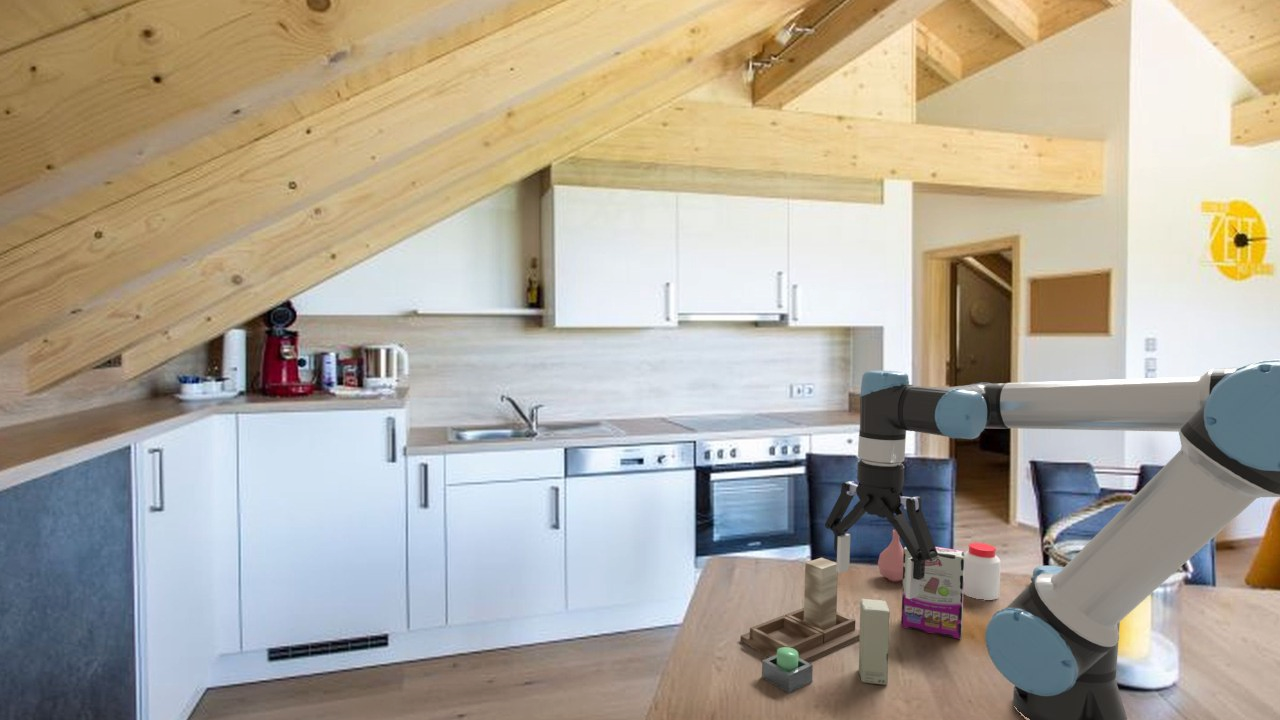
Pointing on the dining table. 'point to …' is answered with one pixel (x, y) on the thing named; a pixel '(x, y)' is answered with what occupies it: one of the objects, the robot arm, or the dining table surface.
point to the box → (874, 641)
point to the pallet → (801, 636)
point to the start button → (787, 658)
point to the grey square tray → (787, 674)
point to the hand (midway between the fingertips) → (875, 583)
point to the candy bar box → (936, 595)
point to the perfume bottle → (892, 560)
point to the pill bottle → (981, 572)
